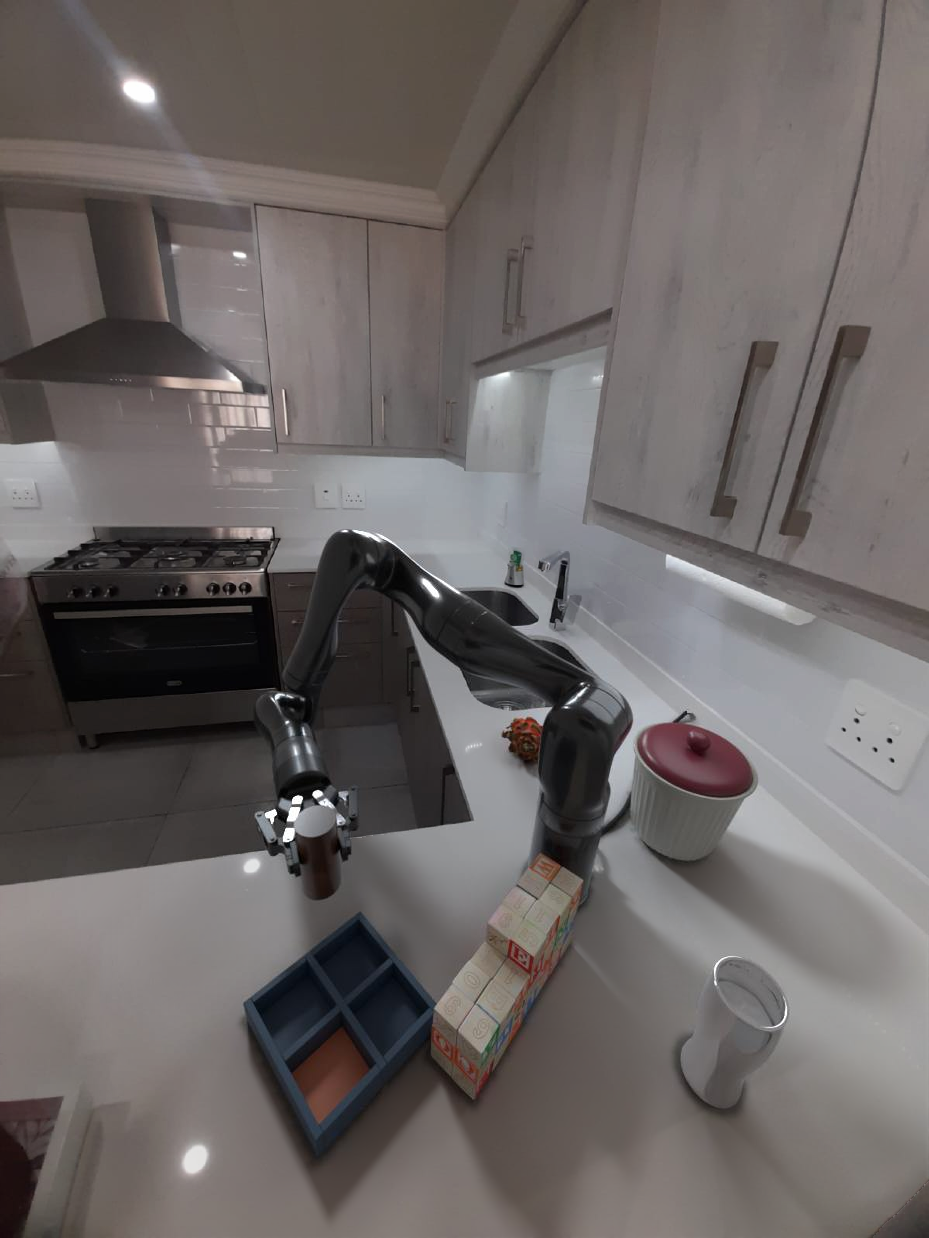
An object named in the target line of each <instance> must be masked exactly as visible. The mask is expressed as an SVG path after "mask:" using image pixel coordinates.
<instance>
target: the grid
mask: <svg viewBox="0 0 929 1238" xmlns="http://www.w3.org/2000/svg"><path fill="white" fill-rule="evenodd" d="M437 1003H438V1002H436V1001H435V999H434V998H433V997H432V996H431V995H430V994H429V993H428V991H427V990H426V989H425V988H424V986H423V985H422V984H421V983H420V981H419V980H418V979H417V978H416V977H415V975H414V974H413V973H412V972H411V971H410V969H409V968H408V967H407V966H406V965H405V963H404V962H403V961H402V960H401V958H400V957H399V956H398V954H396V952H395V951H394V950H393V949H392V948H391V947H390V945H389V944H388V943H387V942H386V941H385V939H384V938H383V937H382V936H381V934H380V933H379V931H377V929H376V928H375V927H374V926H373V924H371V922H370V921H369V920H368V919H367V918H366V916H365V915H364V914H363V913H362V912H361V911H359V912H357V913H356V914H355V915H353V916H352V917H351V918H350V919H348V920H347V921H345V922H344V923H343V924H342V925H341V926H339V927H338V928H337V929H336V930H334V931H333V932H332V933H330V934H329V935H328V936H326V937H325V938H324V939H323V940H322V941H320V942H319V943H318V944H316V945H315V946H314V947H312V948H311V949H310V950H308V952H306V953H305V954H304V955H303V956H301V957H300V958H298V959H297V960H296V961H294V962H293V963H292V964H291V965H290V966H288V967H287V968H286V969H284V970H283V971H282V972H280V974H278V975H277V976H276V977H274V978H273V979H272V980H271V981H269V982H268V983H266V984H265V985H264V986H262V987H261V988H260V989H259V990H257V992H255V993H254V994H252V995H251V996H250V997H249V998H247V999H246V1000H244V1002H243V1003H242V1004H243V1008H244V1014H245V1017H246V1022H247V1023H248V1025H249V1027H250V1030H251V1032H252V1033H253V1035H254V1037H255V1039H256V1041H257V1043H258V1045H259V1047H260V1049H261V1051H262V1053H263V1055H264V1056H265V1059H266V1060H267V1063H268V1064H269V1066H270V1068H271V1070H272V1072H273V1074H274V1076H275V1078H276V1080H277V1082H278V1084H279V1085H280V1087H281V1089H282V1091H283V1093H284V1095H285V1098H286V1099H287V1101H288V1103H289V1105H290V1107H291V1109H292V1110H293V1113H294V1115H295V1117H296V1119H297V1120H298V1122H299V1124H300V1127H301V1129H302V1131H303V1133H304V1134H305V1136H306V1138H307V1140H308V1142H309V1145H310V1146H311V1148H312V1150H313V1152H314V1154H315V1156H316V1158H317V1159H319V1158H320V1157H321V1156H322V1155H323V1154H324V1152H325V1151H326V1150H327V1149H328V1148H329V1147H330V1146H331V1145H332V1144H333V1142H335V1141H336V1139H337V1138H338V1137H339V1136H340V1135H341V1134H342V1133H343V1131H345V1129H346V1128H347V1127H348V1126H349V1125H350V1124H351V1123H352V1122H353V1120H354V1119H356V1117H357V1116H358V1115H359V1114H360V1113H361V1112H362V1110H364V1108H365V1107H366V1106H367V1105H368V1104H369V1103H370V1101H372V1099H373V1098H374V1097H375V1096H376V1095H377V1094H378V1092H380V1090H381V1089H382V1088H383V1087H384V1086H385V1085H386V1084H387V1083H388V1081H389V1080H391V1079H392V1078H393V1076H394V1075H395V1074H396V1073H397V1072H398V1071H399V1069H400V1068H401V1067H402V1066H403V1065H404V1064H405V1063H406V1062H407V1061H408V1060H409V1058H410V1057H411V1056H412V1055H413V1054H414V1053H415V1052H416V1050H417V1049H419V1048H420V1046H421V1045H422V1044H423V1043H424V1042H425V1041H426V1040H427V1039H428V1037H430V1036H431V1031H432V1025H433V1015H434V1007H435V1006H436V1005H437Z"/></svg>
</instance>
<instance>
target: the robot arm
mask: <svg viewBox="0 0 929 1238" xmlns="http://www.w3.org/2000/svg"><path fill="white" fill-rule="evenodd" d="M314 576H315V577H314V580H313V584H312V588H311V591H310V595H309V599H308V603H307V608H306V612H305V615H304V619H303V622H302V626H301V629H300V632H299V635H298V637H297V639H296V642H295V644H294V646H293V648H292V650H291V652H290V654H289V657H288V659H287V661H286V662H285V665H284V668H283V670H282V672H281V676H280V677H281V678H280V679H281V683H282V684H283V686H284V687H285V688H286V689H287V690H289V691H290V692H286V691H280V690H268V691H266V692H264V693H262V694H261V695H260V696H259V697H258V698H257V699H256V700H255V701H256V702H255V703H254V706H253V714H252V715H253V722H254V725H255V728H256V730H257V732H258V733H259V734H260V736H261V738H262V739H263V740H264V742H265V743H266V745H267V746H268V747H269V749H270V754H271V760H272V763H271V764H272V765H271V770H272V777H273V778H272V781H273V784H274V790H275V794H276V800H277V803H276V805H275V807H274V809H273V810H271V811H268V812H266V813H265V812H264V811H263V810H259V811H257V812H255V814H254V820H255V821H254V822H255V827H256V831H257V833H258V835H259V837H260V839H261V840H262V843H263V845H264V847H265V848H266V851H267V853H268V855H269V857H276V856H278V855H279V854H283V855H284V856H285V863H286V867H287V868H286V869H287V873H288V874H289V875H293V874H294V878H296V879H297V878H300V876H301V868H300V862H299V857H298V851H297V847H296V840H295V833H294V821H295V818H296V817H297V815H298V814H299V813H300V812H301V811H303V810H304V809H306V808H308V807H311V806H315V805H324V806H328V807H330V808H331V809H333V810H334V812H335V813H336V818H337V830H338V843H339V855H340V859H341V861H342V862H347V861H349V856H350V855H352V854H353V853H352V852H353V847H352V845H353V844H352V840H351V837H350V834H349V833H350V832H355V831H358V830H359V828H360V825H359V821H360V819H359V792H358V786H357V785H354V784H353V785H350V786H349V787H348V790H342V791H339V790H338V789H337V788H336V787H334V786H333V783H332V779H331V777H330V774H329V771H328V767H327V764H326V760H325V758H324V754H323V752H322V750H321V749H320V747H319V743H318V740H317V737H316V734H315V731H314V730H313V728H314V726H315V725H316V722H317V717H318V710H319V702H320V696H321V694H322V689H323V685H324V683H325V681H326V679H327V678H328V675H329V673H330V671H331V670H332V667H333V665H334V663H335V661H336V658H337V653H338V650H339V620H340V614H341V612H342V610H343V608H344V606H345V604H346V602H347V601H348V600H349V598H350V596H351V595H352V593H353V592H354V591H355V590H358V591H359V590H362V591H363V590H371V591H374V592H376V593H379V594H381V595H382V596H385V597H386V598H388V599H389V600H391V601H392V602H394V603H395V604H397V605H398V606H400V607H401V608H402V609H403V610H404V611H405V612H406V613H407V614H408V615H409V617H410V618H411V620H412V621H413V624H414V625H415V627H416V629H417V630H418V632H419V634H420V636H421V637H422V638H423V639H424V641H425V642H426V643H427V644H428V646H430V647H431V648H432V649H433V650H434V651H435V652H437V653H438V654H439V655H441V656H442V657H444V658H445V659H446V660H447V661H449V662H450V663H451V664H453V665H454V666H455V667H457V668H459V669H460V670H462V671H463V672H465V673H467V674H470V675H473V676H475V677H479V678H482V679H486V680H490V681H494V682H497V683H502V684H506V685H510V686H513V687H516V688H520V689H522V690H524V691H526V692H528V693H530V694H532V695H533V696H534V697H537V698H538V699H539V700H541V701H543V702H544V703H545V704H546V705H548V706H550V707H551V709H550V710H549V711H548V712H547V714H546V715H545V718H544V720H543V724H542V726H543V727H542V732H541V738H540V748H539V758H538V762H537V778H538V782H539V783H540V785H539V790H538V797H537V805H536V812H535V816H534V817H535V818H534V823H533V829H532V836H531V842H530V848H529V855H528V861H527V866H526V869H525V871H526V870H527V869H528V868H529V867H530V866H531V864H532V863H533V862H534V861H535V859H536V858H537V857H538V855H539V854H540V853H541V854H543V855H544V856H546V857H548V858H549V859H551V860H553V861H554V862H556V863H557V864H559V865H560V866H561V867H564V868H566V869H567V870H568V871H570V872H572V873H573V874H575V875H576V876H578V877H579V878H581V879H582V880H583V885H582V890H581V894H580V899H579V904H578V908H579V907H580V906H582V905H583V904H584V902H586V900H587V897H588V895H589V891H590V884H591V880H592V875H593V872H594V867H595V863H596V860H597V859H596V858H597V854H598V850H599V846H600V842H601V837H602V835H604V834H606V833H607V832H608V831H610V830H611V829H612V828H613V827H615V825H616V824H618V822H619V821H621V820H622V818H623V817H624V816H625V815H626V813H627V811H628V810H630V809H629V808H631V793H632V789H631V790H630V793H629V794H628V797H627V798H626V801H625V803H624V805H623V806H622V808H621V809H620V811H619V812H618V813H617V814H616V815H615V816H614V817H613V818H612V819H611V820H610V821H608V822H607V823H606V824H605V819H606V815H607V811H608V806H609V804H610V803H609V802H610V798H611V795H612V794H611V792H612V791H611V788H612V787H611V784H610V781H609V778H610V773H611V769H612V765H613V762H614V759H615V756H616V754H617V753H618V751H619V750H620V748H621V746H622V745H623V744H624V742H625V740H626V738H627V737H628V736H629V734H630V732H631V730H632V727H633V724H634V714H633V710H632V707H631V705H630V703H629V702H628V700H627V699H626V697H625V696H624V695H623V694H622V693H621V692H620V691H619V690H618V689H617V688H616V687H614V686H613V685H611V684H609V683H608V682H607V681H605V680H603V679H602V678H599V676H596V675H595V674H592V673H591V672H588V671H587V670H585V669H583V668H581V667H579V666H577V665H576V664H573V663H572V662H570V661H568V660H566V659H564V658H562V657H560V656H559V655H557V654H555V653H554V652H552V651H550V650H549V649H547V648H545V647H544V646H542V645H541V644H539V643H538V642H537V641H535V640H533V639H532V638H530V637H529V636H528V635H526V634H524V633H523V632H521V631H520V630H518V629H516V628H515V627H513V626H512V625H510V624H509V623H507V622H506V621H505V620H503V619H502V618H501V617H499V616H498V615H497V614H495V613H494V612H492V611H491V610H490V609H488V608H487V607H485V606H483V605H482V604H481V603H479V602H478V601H476V600H474V599H473V598H472V597H469V595H467V594H465V593H463V592H462V591H460V590H459V589H457V588H456V587H454V586H452V585H451V584H450V583H448V582H446V581H445V580H443V579H441V578H439V577H437V576H435V575H434V574H432V573H431V572H430V571H428V570H426V569H425V568H424V567H422V565H420V564H418V563H417V562H416V561H415V560H414V559H413V558H411V556H409V555H408V554H407V553H406V552H405V551H404V550H403V549H401V548H400V547H399V546H398V545H397V544H396V543H394V542H393V541H392V540H391V539H389V538H388V537H386V536H384V535H382V534H380V533H377V532H372V531H366V530H359V529H349V528H348V529H347V528H345V529H340V530H337V531H336V532H333V534H331V535H330V537H329V538H328V539H327V541H326V543H325V544H324V545H323V549H322V552H321V553H320V558H319V561H318V565H317V568H316V572H315V575H314ZM688 714H689V713H687V711H686V710H684V711H683V712H682V713H681V714H680V715H679V716H678V717H676V718H675V719H673V721H672V722H673V723H680V721H682V720H683V719H684V718H685V717H686V716H687V715H688ZM689 715H690V714H689ZM339 802H340V803H342V804H343V806H344V807H346V809H348V816H346V817H343V816H342V815H341V814H340V812H339V811H338V808H337V806H338V805H339ZM276 821H279V822H281V823H283V824H285V826H286V827H285V829H284V830H285V831H284V833H283V836H280V837H279V836H277V833H276V831H275V830H274V827H275V826H276V823H275V822H276ZM604 824H605V825H604Z"/></svg>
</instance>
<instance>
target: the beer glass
mask: <svg viewBox="0 0 929 1238" xmlns="http://www.w3.org/2000/svg"><path fill="white" fill-rule="evenodd" d="M789 1019H790V1006H789V1002H788V999H787V997H786V994H785V992H784V990H783V989H782V987H781V986H780V984H779V982H777V980H776V979H775V978H774V977H773V976H772V975H771V974H770V973H769V972H768V971H767V970H766V969H764V968H763V967H762V966H760V965H759V964H758V963H756V962H754V961H752V960H750V959H748V958H746V957H743V956H737V955H728V956H724V957H722V958H720V959H719V960H717V962H716V963H715V965H714V967H713V969H712V971H711V972H710V974H709V976H708V977H707V978H706V980H705V983H704V985H703V986H702V988H701V991H700V994H699V997H698V1000H697V1005H696V1011H695V1020H694V1030H693V1034H692V1036H691V1037H690V1038H689V1039H687V1041H686V1042H685V1043H684V1044H683V1045H682V1047H681V1050H680V1058H679V1059H680V1067H681V1071H682V1074H683V1077H684V1078H685V1080H686V1082H687V1084H688V1086H689V1087H690V1088H691V1090H692V1091H693V1092H694V1093H695V1095H696V1096H698V1097H699V1098H700V1099H701V1100H702V1101H703V1102H705V1103H706V1104H708V1105H710V1106H711V1107H714V1108H715V1109H721V1110H722V1109H723V1110H725V1109H731V1108H732V1107H734V1106H735V1105H736V1104H737V1103H739V1100H740V1098H741V1095H742V1091H743V1086H744V1085H743V1084H744V1080H745V1079H746V1078H747V1077H749V1076H750V1075H752V1074H753V1073H754V1072H756V1071H757V1070H758V1069H760V1068H761V1067H762V1066H763V1065H764V1064H765V1063H766V1062H767V1061H769V1059H770V1058H771V1056H772V1055H773V1053H774V1052H775V1050H776V1049H777V1047H778V1045H779V1044H780V1043H779V1042H781V1041H780V1040H781V1038H782V1035H783V1032H784V1031H785V1028H786V1025H787V1024H788V1021H789Z"/></svg>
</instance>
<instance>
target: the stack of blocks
mask: <svg viewBox="0 0 929 1238" xmlns="http://www.w3.org/2000/svg"><path fill="white" fill-rule="evenodd" d="M526 869H527V868H526ZM526 869H525V871H524V872H523V874H522V875H521V877H520V878H519V879H518V881H517V882H516V884H515V885H513V887H511V889H510V891H509V892H508V893H507V894H506V896H505V898H504V899H503V900H502V902H501V904H500V905H499V906H498V908H497V909H496V910H495V911H494V913H493V914H492V915H491V917H490V919H489V920H488V921H487V924H486V932H485V939H484V941H483V942H482V943H481V945H480V946H479V947H478V949H477V950H476V951H475V953H474V954H472V956H471V958H470V959H469V960H468V961H467V962H466V963H465V965H463V967H462V969H460V971H459V972H458V974H457V975H456V976H455V978H454V979H453V980H452V982H451V985H450V986H449V988H447V990H446V991H445V993H444V994H443V996H441V998H440V999H439V1000H438V1002H436V1003H437V1005H436V1006H435V1007H434V1015H433V1025H432V1031H431V1034H430V1040H431V1041H430V1057H431V1058H432V1059H434V1061H435V1062H436V1063H437V1064H438V1065H439V1066H440V1067H441V1068H442V1069H443V1070H444V1071H445V1072H446V1073H447V1075H449V1076H450V1077H451V1079H452V1080H453V1082H455V1083H456V1084H457V1085H458V1087H460V1089H461V1090H462V1091H463V1092H465V1094H466V1095H468V1097H469V1098H471V1099H472V1100H473V1101H475V1100H476V1099H477V1096H478V1095H479V1094H480V1091H481V1090H482V1088H483V1087H484V1085H485V1083H486V1081H487V1079H488V1078H489V1077H490V1075H491V1072H493V1071H494V1069H496V1067H497V1065H498V1063H499V1062H500V1060H501V1059H502V1056H503V1055H504V1053H505V1051H506V1049H507V1048H508V1046H509V1044H510V1043H511V1042H512V1040H513V1038H514V1036H515V1035H516V1033H517V1031H518V1030H519V1028H520V1026H521V1025H522V1022H523V1020H524V1019H525V1017H526V1015H527V1013H528V1012H529V1010H530V1008H531V1007H532V1005H533V1004H534V1002H535V999H536V998H537V997H538V995H539V993H540V991H542V988H543V986H544V985H545V983H546V981H547V980H549V977H551V975H552V973H553V971H554V969H555V968H556V966H557V964H558V963H559V961H560V960H561V958H562V957H563V955H564V953H565V952H566V950H567V948H568V947H569V945H570V943H571V939H572V936H573V930H574V924H575V920H576V916H577V915H576V914H577V911H578V908H579V907H578V904H579V899H580V894H581V890H582V885H583V880H582V879H581V878H579V877H578V876H576V875H575V874H573V873H572V872H570V871H568V870H567V869H566V868H564V867H561V866H560V865H559V864H557V863H556V862H554V861H553V860H551V859H549V858H548V857H546V856H544V855H543V854H541V853H540V854H539V855H538V857H537V858H536V859H535V861H534V862H533V863H532V864H531V866H530V867H529V868H528V869H527V870H526Z"/></svg>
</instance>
